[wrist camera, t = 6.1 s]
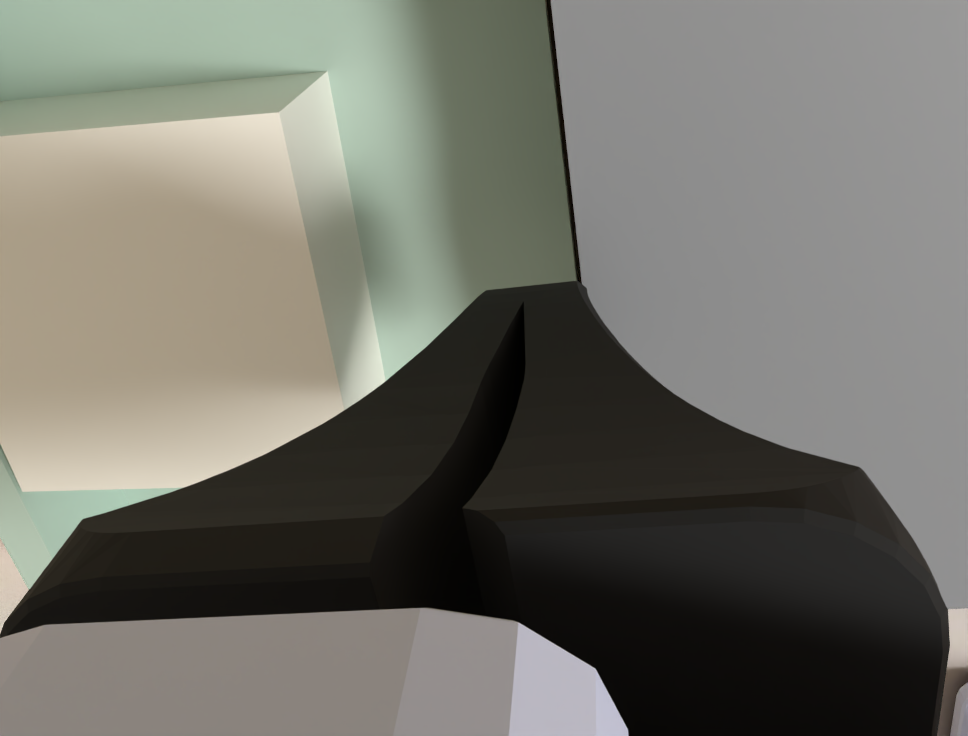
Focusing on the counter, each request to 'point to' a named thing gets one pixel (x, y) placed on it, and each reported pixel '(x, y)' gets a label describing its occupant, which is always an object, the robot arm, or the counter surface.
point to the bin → (365, 144)
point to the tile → (175, 281)
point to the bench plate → (788, 226)
